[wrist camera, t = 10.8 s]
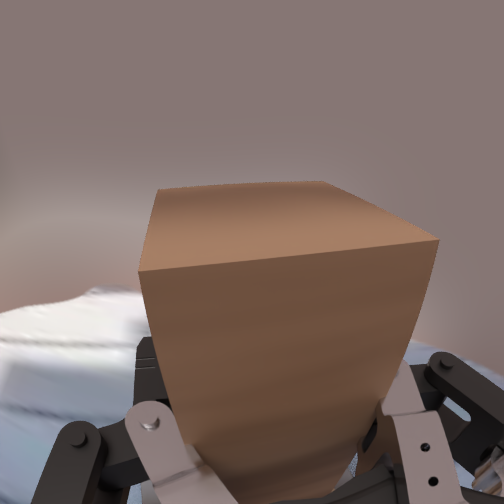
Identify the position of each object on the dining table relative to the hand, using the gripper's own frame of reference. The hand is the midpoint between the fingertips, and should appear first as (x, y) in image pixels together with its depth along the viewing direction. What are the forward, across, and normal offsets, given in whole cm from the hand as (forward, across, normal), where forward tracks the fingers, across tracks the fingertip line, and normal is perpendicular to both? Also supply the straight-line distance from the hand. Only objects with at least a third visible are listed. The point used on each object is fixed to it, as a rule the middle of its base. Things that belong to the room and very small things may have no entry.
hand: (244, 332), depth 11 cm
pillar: (-3, 0, +6) cm, 7 cm away
